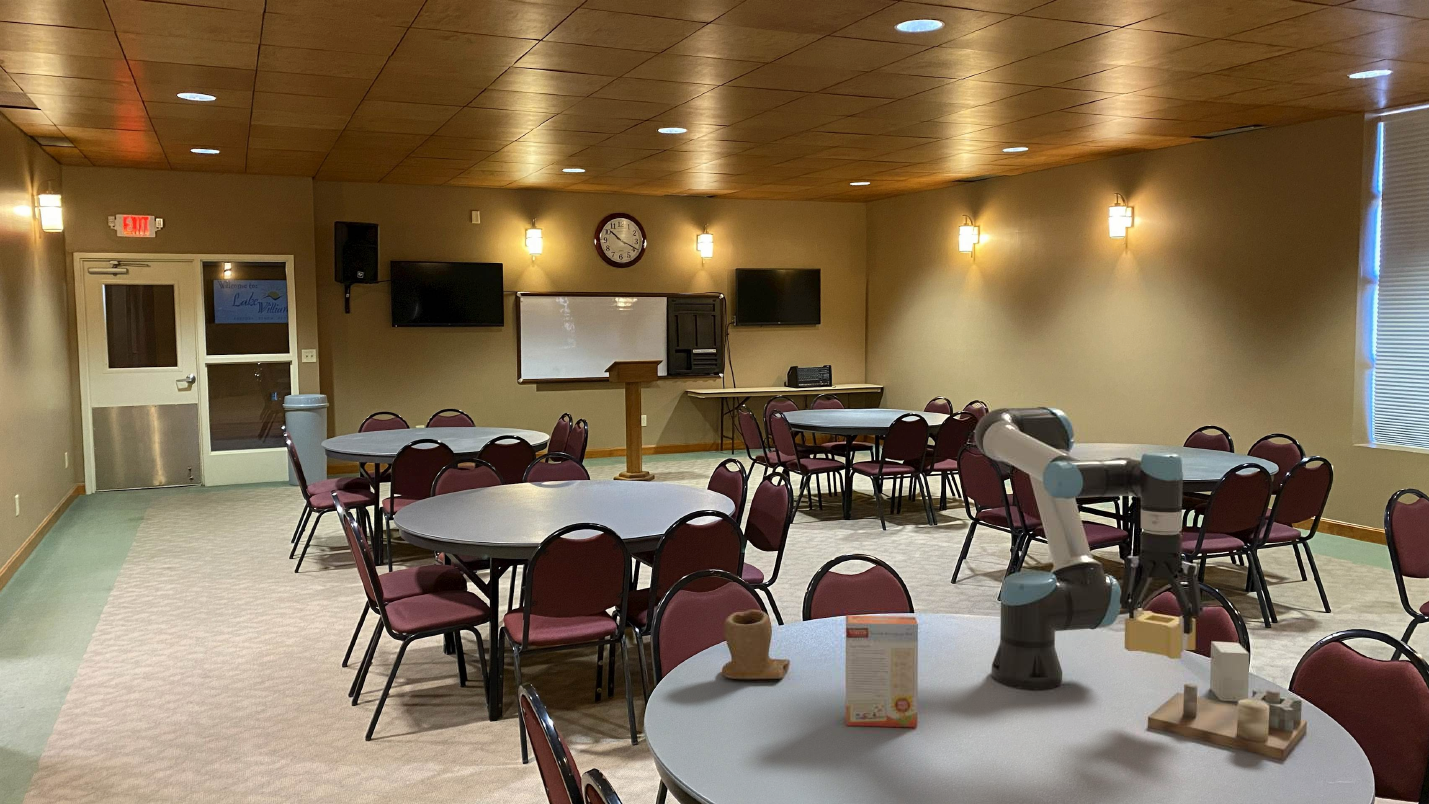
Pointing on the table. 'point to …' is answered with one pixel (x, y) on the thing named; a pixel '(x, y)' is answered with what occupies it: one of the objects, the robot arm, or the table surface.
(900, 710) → the cracker box
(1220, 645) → the small box
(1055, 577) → the robot arm
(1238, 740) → the board
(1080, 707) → the table surface
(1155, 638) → the tan notched block
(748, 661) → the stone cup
